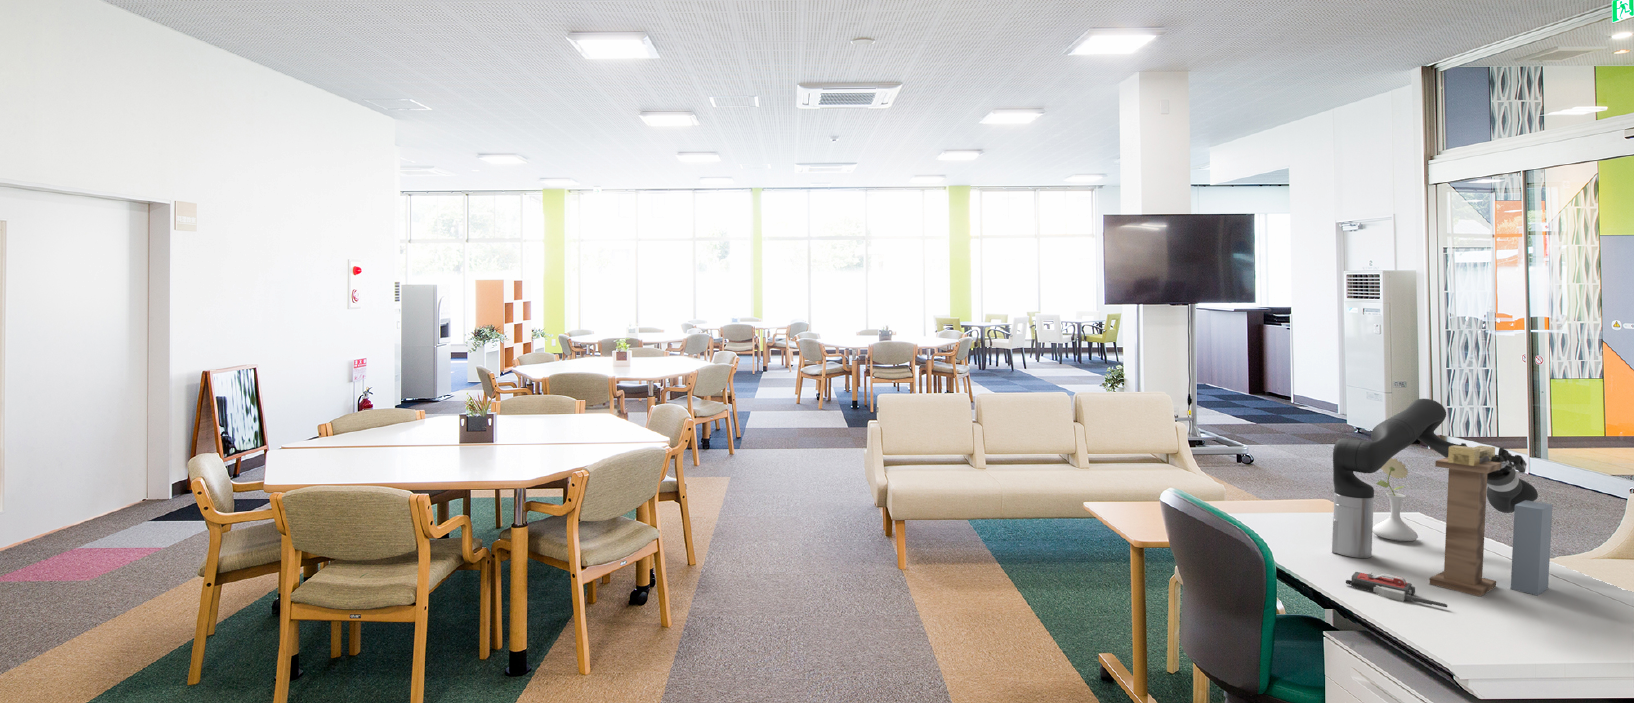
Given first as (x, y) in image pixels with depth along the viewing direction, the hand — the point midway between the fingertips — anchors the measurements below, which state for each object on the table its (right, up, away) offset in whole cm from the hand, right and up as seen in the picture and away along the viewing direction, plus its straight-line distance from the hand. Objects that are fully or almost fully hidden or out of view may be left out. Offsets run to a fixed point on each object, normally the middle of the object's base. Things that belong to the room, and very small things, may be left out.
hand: (1481, 448), depth 189 cm
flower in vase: (+5, -33, +36) cm, 49 cm away
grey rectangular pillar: (+7, -35, -6) cm, 36 cm away
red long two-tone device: (-30, -36, -10) cm, 47 cm away
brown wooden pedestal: (-8, -35, -4) cm, 36 cm away
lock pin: (-4, -3, -3) cm, 6 cm away
